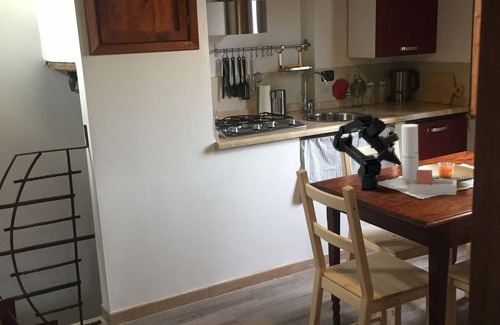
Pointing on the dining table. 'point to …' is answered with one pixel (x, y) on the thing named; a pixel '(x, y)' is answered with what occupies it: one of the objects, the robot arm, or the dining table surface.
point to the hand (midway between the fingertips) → (400, 164)
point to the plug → (424, 177)
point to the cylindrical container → (409, 151)
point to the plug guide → (434, 187)
